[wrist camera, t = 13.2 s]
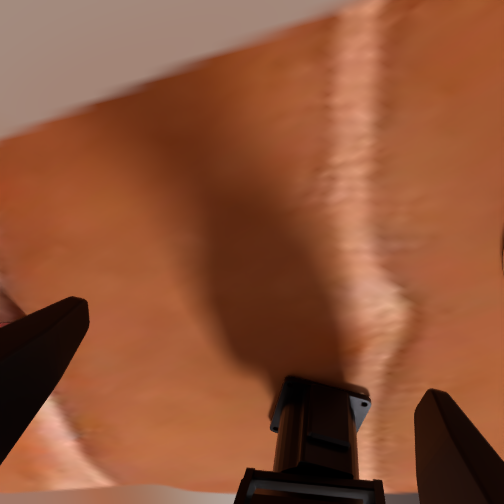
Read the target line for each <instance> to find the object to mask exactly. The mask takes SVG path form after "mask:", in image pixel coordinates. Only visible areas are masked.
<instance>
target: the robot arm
mask: <svg viewBox="0 0 504 504" xmlns="http://www.w3.org/2000/svg"><path fill="white" fill-rule="evenodd" d="M89 323H90V321H89V309H88V302H87V301H86V300H85V299H82V298H78V297H74V296H71V297H68V298H65V299H63V300H61V301H59V302H56V303H54V304H52V305H50V306H47V307H45V308H43V309H41V310H38V311H36V312H34V313H32V314H29V315H27V316H25V317H22V318H20V319H18V320H16V321H13V322H11V323H9V324H7V325H4V326H2V327H0V465H1V464H2V462H3V461H4V459H5V458H6V457H7V455H8V454H9V452H10V451H11V450H12V448H13V447H14V445H15V444H16V442H17V441H18V440H19V438H20V437H21V435H22V434H23V432H24V431H25V430H26V428H27V427H28V425H29V424H30V422H31V421H32V420H33V418H34V417H35V415H36V414H37V412H38V411H39V410H40V408H41V407H42V405H43V404H44V403H45V401H46V400H47V398H48V397H49V395H50V394H51V393H52V391H53V390H54V388H55V387H56V385H57V384H58V382H59V381H60V379H61V377H62V376H63V374H64V372H65V370H66V369H67V367H68V365H69V363H70V361H71V360H72V358H73V356H74V354H75V352H76V351H77V349H78V347H79V345H80V343H81V342H82V340H83V338H84V336H85V334H86V332H87V331H88V328H89ZM370 407H371V399H370V398H369V397H368V396H365V395H361V394H358V393H354V392H350V391H346V390H342V389H338V388H335V387H331V386H327V385H323V384H319V383H315V382H312V381H308V380H304V379H300V378H296V377H292V376H288V377H286V378H285V379H284V382H283V385H282V389H281V392H280V395H279V398H278V401H277V404H276V407H275V411H274V414H273V417H272V420H271V424H270V430H271V431H273V432H275V433H278V436H277V444H276V451H275V458H274V466H273V471H262V470H255V468H247V469H246V472H245V475H244V478H243V479H242V480H241V483H240V486H239V489H238V492H237V495H236V498H235V501H234V504H385V496H384V489H383V482H382V480H376V479H373V481H370V480H359V468H358V450H357V432H358V430H359V428H360V426H361V424H362V422H363V420H364V419H365V417H366V415H367V413H368V411H369V409H370ZM414 426H415V455H416V477H417V486H418V493H419V500H420V504H504V461H503V460H502V459H501V458H500V456H499V455H498V454H497V453H496V451H495V450H494V449H493V448H492V447H491V445H490V444H489V443H488V442H487V440H486V439H485V438H484V437H483V436H482V434H481V433H480V432H479V431H478V429H477V428H476V427H475V426H474V424H473V423H472V422H471V421H470V420H469V418H468V417H467V416H466V415H465V413H464V412H463V411H462V410H461V408H460V407H459V406H458V405H457V404H456V402H455V401H454V400H453V399H452V397H451V396H450V395H449V394H448V393H447V392H444V391H441V390H437V389H433V388H430V389H428V390H427V391H426V393H425V394H424V396H423V398H422V399H421V401H420V402H419V404H418V405H417V407H416V409H415V413H414Z"/></svg>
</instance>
